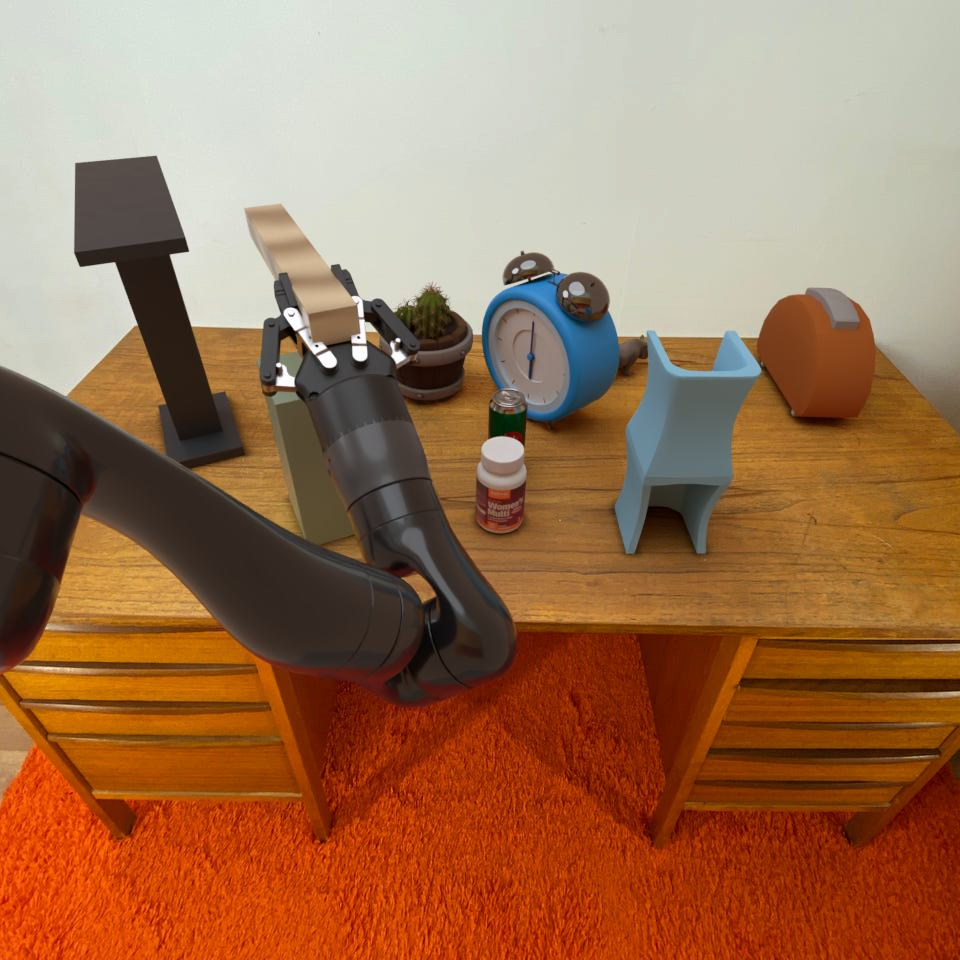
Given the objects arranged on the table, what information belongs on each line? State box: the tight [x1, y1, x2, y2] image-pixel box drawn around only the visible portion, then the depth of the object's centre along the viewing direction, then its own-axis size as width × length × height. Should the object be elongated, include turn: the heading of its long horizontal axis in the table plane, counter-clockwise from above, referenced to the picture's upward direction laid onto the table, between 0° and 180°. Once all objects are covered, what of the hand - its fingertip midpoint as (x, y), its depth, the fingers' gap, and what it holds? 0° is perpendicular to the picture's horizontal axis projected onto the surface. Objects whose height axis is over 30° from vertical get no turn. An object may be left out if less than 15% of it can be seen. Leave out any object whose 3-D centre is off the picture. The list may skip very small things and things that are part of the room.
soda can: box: [487, 389, 528, 450], centre depth 86 cm, size 5×5×12 cm
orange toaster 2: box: [756, 287, 877, 419], centre depth 102 cm, size 23×9×17 cm, turn 179°
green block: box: [256, 351, 355, 546], centre depth 76 cm, size 10×10×21 cm
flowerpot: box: [377, 281, 474, 404], centre depth 100 cm, size 14×15×20 cm
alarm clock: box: [481, 250, 620, 431], centre depth 95 cm, size 20×10×23 cm, turn 41°
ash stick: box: [243, 203, 361, 346], centre depth 61 cm, size 28×4×3 cm, turn 26°
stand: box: [73, 155, 246, 469], centre depth 85 cm, size 34×10×34 cm, turn 26°
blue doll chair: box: [614, 329, 762, 555], centre depth 74 cm, size 10×10×25 cm
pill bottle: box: [475, 437, 528, 534], centre depth 79 cm, size 6×6×11 cm
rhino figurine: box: [618, 334, 648, 377], centre depth 109 cm, size 4×14×6 cm, turn 123°
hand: (309, 275), depth 55 cm, fingers closed on ash stick, 4 cm apart
